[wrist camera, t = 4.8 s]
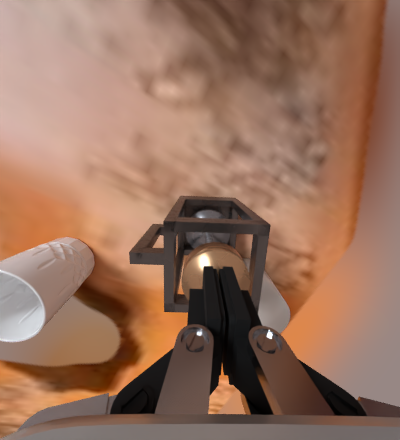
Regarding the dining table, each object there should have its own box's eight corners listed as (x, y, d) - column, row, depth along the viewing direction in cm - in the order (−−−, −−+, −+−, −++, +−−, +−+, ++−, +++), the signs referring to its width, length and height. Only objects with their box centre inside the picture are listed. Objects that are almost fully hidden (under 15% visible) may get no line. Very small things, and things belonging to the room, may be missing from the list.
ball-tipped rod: (186, 208, 22) (175, 244, 12) (231, 209, 22) (260, 246, 12) (185, 249, 24) (175, 315, 13) (227, 251, 24) (251, 317, 13)
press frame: (157, 194, 25) (118, 219, 13) (235, 197, 25) (270, 225, 13) (158, 246, 27) (124, 310, 14) (230, 248, 27) (257, 314, 15)
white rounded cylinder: (225, 257, 27) (236, 292, 20) (267, 258, 27) (294, 294, 20) (222, 293, 29) (231, 339, 21) (262, 294, 29) (285, 340, 21)
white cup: (110, 255, 27) (61, 303, 17) (81, 292, 29) (21, 355, 19) (60, 221, 26) (-23, 252, 16) (33, 262, 27) (-58, 313, 18)
